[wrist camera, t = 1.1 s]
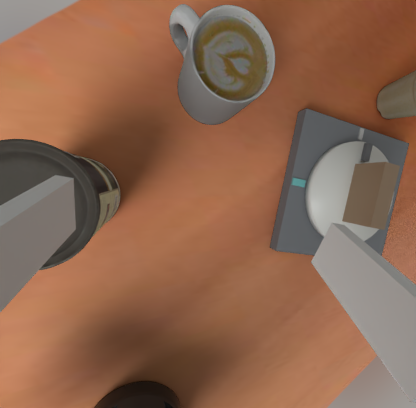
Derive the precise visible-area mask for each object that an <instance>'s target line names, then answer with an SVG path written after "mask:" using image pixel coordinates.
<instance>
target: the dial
mask: <svg viewBox="0 0 416 408" xmlns="http://www.w3.org/2000/svg"><path fill="white" fill-rule="evenodd" d="M399 168H400V166H398V165H395V164H391V163H389V162H388V160H387V158H386V157H385V155H384V154H383V153H382V152H381V151H380V150H379V149H378V148H377V147H375V146H373V144H371V143H366V142H362V141H354V142H348V143H343V144H339V145H336V146H334V147H332V148H331V149H329V150H328V151H326V152H325V153H324V154H323V155H322V156H321V157H320V158H319V159H318V161H317V162H316V164H315V165H314V167H313V169H312V170H311V173H310V175H309V178H308V181H307V185H306V192H305V203H306V210H307V214H308V217H309V219H310V222H311V224H312V225H313V227H314V228H315V230H316V231H317V232H318V233H319V234H320V235H321V236H323V237H325V235H326V233H327V231H328V229H329V227H330V225H331V223H336V224H342V225H345V226H346V227H347V228H349V229H350V230H351V231H352V232H353V233H355V234H356V235H357V236H358V237H359V238H360V239H362V240H363V241H365V240H367V239H369V238H370V237H371V236H373V235H374V234H375V233H376V232H377V231H378V230H379V229H382V230H385V226H386V222H387V218H388V214H389V212H390V209H391V206H392V202H393V197H394V189H395V185H396V181H397V176H398V172H399Z"/></svg>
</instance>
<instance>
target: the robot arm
mask: <svg viewBox="0 0 416 408" xmlns="http://www.w3.org/2000/svg"><path fill="white" fill-rule="evenodd" d="M75 229H76V219H75V198H74V178H69V177H64V176H58V175H55V176H53V177H51V178H49V179H48V180H46V181H44V182H42V183H40V184H38V185H37V186H35V187H33V188H31V189H29V190H28V191H26V192H24V193H22V194H20V195H19V196H17V197H15V198H13V199H11V200H9V201H8V202H6V203H4V204H2V205H0V312H1V311H2V310H3V309H4V308H5V307H6V306H7V304H8V303H9V302H10V301H11V300H12V299H13V298H14V297H15V296H16V295H17V293H18V292H19V291H20V290H21V289H22V288H23V287H24V286H25V285H26V283H27V282H28V281H29V280H30V279H31V278H32V277H33V276H34V275H35V274H36V272H37V271H38V270H39V269H40V268H41V267H42V266H43V265H44V264H45V263H46V261H47V260H48V259H49V258H50V257H51V256H52V255H53V254H54V253H55V252H56V250H57V249H58V248H59V247H60V246H61V245H62V244H63V243H64V242H65V240H66V239H67V238H68V237H69V236H70V235H71V234H72V233H73V232H74V231H75ZM311 263H312V264H313V266H314V267H315V269H316V270H317V271H318V273H319V274H320V276H321V277H322V278H323V280H324V281H325V283H326V284H327V285H328V287H329V288H330V290H331V291H332V292H333V294H334V295H335V297H336V298H337V299H338V301H339V302H340V304H341V305H342V306H343V308H344V309H345V311H346V312H347V313H348V315H349V316H350V318H351V319H352V320H353V322H354V323H355V325H356V326H357V327H358V329H359V330H360V332H361V333H362V334H363V336H364V337H365V339H366V340H367V341H368V343H369V344H370V346H371V347H372V348H373V350H374V351H375V353H376V354H377V355H378V357H379V358H380V359H381V361H382V362H383V364H384V365H385V367H386V368H387V369H388V371H389V372H390V374H391V375H392V376H393V378H394V379H395V381H396V382H397V383H398V385H399V386H400V388H401V389H402V390H403V392H404V393H405V395H406V396H407V397H408V399H409V400H410V402H416V285H415V284H414V283H413V282H412V281H410V280H409V279H408V278H407V277H406V276H404V275H403V274H402V273H401V272H400V271H399V270H397V269H396V268H395V267H394V266H393V265H391V264H390V263H389V262H388V261H387V260H385V259H384V258H383V257H382V256H381V255H380V254H378V253H377V252H376V251H375V250H374V249H372V248H371V247H370V246H369V245H368V244H366V243H365V242H364V241H363V240H362V239H360V238H359V237H358V236H357V235H356V234H355V233H353V232H352V231H351V230H350V229H349V228H347V227H346V226H345V225H342V224H336V223H331V225H330V227H329V229H328V231H327V233H326V235H325V237H324V238H323V240H322V242H321V244H320V246H319V248H318V250H317V252H316V254H315V256H314V257H313V259H312V261H311ZM95 408H181V407H180V403H179V400H178V398H177V396H176V395H175V394H174V393H173V391H171V390H170V389H169V388H168V387H166V386H164V385H162V384H159V383H155V382H136V383H132V384H128V385H125V386H123V387H120V388H118V389H116V390H115V391H113V392H111V393H110V394H108V395H107V396H106V397H105V398H103V399H102V400H101V401H100V402H99V403H98V404H97V405H96V407H95Z"/></svg>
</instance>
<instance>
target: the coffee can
mask: <svg viewBox="0 0 416 408" xmlns="http://www.w3.org/2000/svg"><path fill="white" fill-rule="evenodd" d="M55 175H58V176H64V177H69V178H74V198H75V219H76V229H75V231H74V232H73V233H72V234H71V235H70V236H69V237H68V238H67V239H66V240H65V242H64V243H63V244H62V245H61V246H60V247H59V248H58V249H57V250H56V252H55V253H54V254H53V255H52V256H51V257H50V258H49V259H48V260H47V261H46V263H45V264H44V265H43V266H42V267H41V268H40V269H39V270H43V269H47V268H51V267H54V266H57V265H59V264H61V263H63V262H65V261H67V260H69V259H71V258H72V257H74V256H75V255H76V254H77V253H79V252H80V251H81V250H82V249H83V248H84V247H85V246H86V244H87V243H88V242H89V241H90V239H91V238H92V236H93V235H94V234H95V233H96V232H97V231H98V230H99V229H100V228H101V227H102V226H103V225H104V224H105V223H106V222H108V221H109V220H110V219H111V218H112V217H113V216H114V214H115V213H116V211H117V209H118V206H119V203H120V188H119V185H118V182H117V180H116V178H115V176H114V175H113V173H112V172H111V171H110V170H109V169H108V168H107V167H105V166H104V165H103V164H101V163H99V162H97V161H95V160H92V159H89V158H85V157H80V156H77V155H74V154H71V153H68V152H65V151H62V150H60V149H58V148H56V147H54V146H51V145H49V144H46V143H42V142H38V141H34V140H26V139H8V140H1V141H0V205H2V204H4V203H6V202H8V201H9V200H11V199H13V198H15V197H17V196H19V195H20V194H22V193H24V192H26V191H28V190H29V189H31V188H33V187H35V186H37V185H38V184H40V183H42V182H44V181H46V180H48V179H49V178H51V177H53V176H55Z"/></svg>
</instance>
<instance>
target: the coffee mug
mask: <svg viewBox="0 0 416 408" xmlns="http://www.w3.org/2000/svg"><path fill="white" fill-rule="evenodd" d="M183 27H184V29H185V30H186V32H187V35H188V37H187V36H186V34H185V32H184V29H183ZM169 28H170V34H171V36H172V39H173V41H174V43H175V45H176V46H177V48H178V49H179V51H180V52H181V54H182V55H183V58H184V62H183V65H182V68H181V72H180V75H179V79H178V95H179V99H180V101H181V104H182V106H183V107H184V109H185V110H186V112H187V113H188V114H189V115H190V116H191V117H192V118H194V119H195V120H197V121H199V122H201V123H204V124H209V125H216V124H220V123H223V122H225V121H227V120H228V119H230V118H231V117H232V116H234V115H235V114H236V113H238V112H239V111H240V110H242V109H243V108H244V107H246V106H247V105H248V104H250V103H251V102H252V101H254V100H255V99H256V98H258V97H259V96H260V95H261V94H262V93H263V92H264V91H265V90H266V88H267V87H268V85H269V84H270V82H271V79H272V76H273V73H274V69H275V52H274V46H273V43H272V40H271V37H270V35H269V33H268V31H267V29H266V28H265V26H264V25H263V24H262V22H261V21H260V20H259V19H258V18H257V17H256V16H255V15H253V14H252V13H251V12H249V11H248V10H246V9H243V8H241V7H238V6H234V5H221V6H217V7H215V8H212V9H210V10H209V11H207V12H206V13H205V14H204V15H203V16H202V17H201V18H199V16H198V15H197V14H196V13H195V11H194V10H193V9H192V8H191V7H189V6H187V5H185V4H181V5H179V6H178V7H176V8H175V9H174V10H173V12H172V14H171V16H170V23H169ZM188 38H189V39H188Z"/></svg>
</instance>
